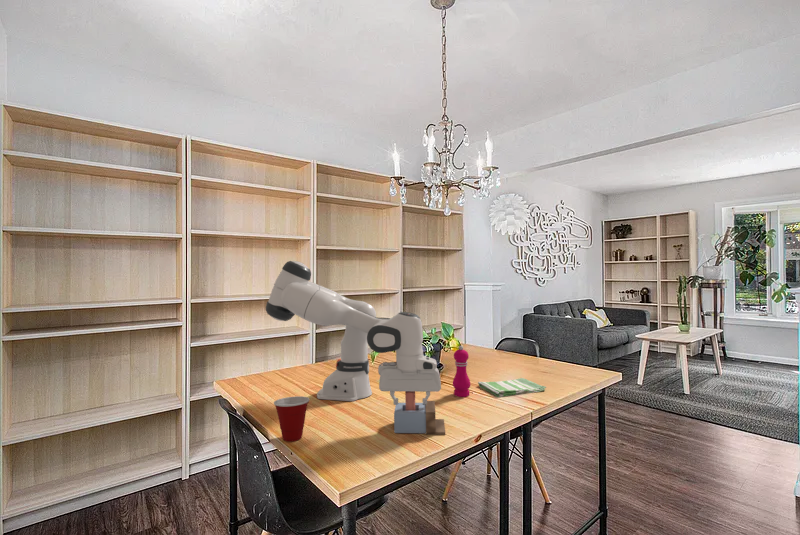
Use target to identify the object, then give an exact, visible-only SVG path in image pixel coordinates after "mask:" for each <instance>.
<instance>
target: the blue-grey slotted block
mask: <svg viewBox="0 0 800 535" xmlns="http://www.w3.org/2000/svg"><path fill="white" fill-rule="evenodd" d="M394 406H395V407H394V412H393V421H394V423H393V427H394V429H393V430H394V431H393V432H394V433H395V434H426V404H425V405H423V402H415V411H406V402H398V405H394Z"/></svg>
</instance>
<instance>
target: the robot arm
mask: <svg viewBox="0 0 800 535" xmlns="http://www.w3.org/2000/svg"><path fill="white" fill-rule="evenodd" d="M281 269H282V270H280V273H279V274H278V276H277V278H276V279H275V282H274V283H273V287H272V290H271V292H270V295H269V297H268V301H266V303H265V311H266V314H267V315H269V316H270V317H271V318H272V319H273V320H277V321H280V322H281V321H282V322H287V321H290V320H291V319H293V317H294V316H298V317H299V318H301V319H303V320H304V321H308V322H310V323H312V324H314V325H318V326H322V327H327V326H338V325H340V326H343V325H344V326H345V331H344V334H343V337H342V339H341V340H340V358H338V359H337V360H336V363H335V368H336V369H335V370H334V371H333V372H331V373H330V374H329V375H328V376H327V377H325V379H324V381H323V383H322V388H321V389H319V391H318V392H317V393H316V398H317V399H318V400H329V401H343V402H345V401H346V402H354V401H356V400H359V399H360V400H361V399H364V398H368V397H370V396H371V395H372V394H373V391H372V388H371V385H370V384H371V383H370V377H369V373H370V362H369V361H370V360H369V358H368V355H369V353H368V347H369V348H370V349H371V350H372V351H373V352H375V353H379V354H383V353H391V352H394V351H395V352H396V355H395V357H396V358H395V359H396V360H395V361H390V362H387V361H384V362H382V363H380V364H379V365H378V366H377V367H378V368H377V370H378V371H377V372H378V375H379V380H378V381H379V383H378V386H379V387H378V388H379V390H380V391H381V392H389V396H390V397H391V399H392V400H393V405H394V406H396V405H398V403H399V397H396V396H395V394H396V393H395V392H406V391H415V392H422V393H423V392H425V397H422V403H423V405H425V404H426V405H427V401H429V398H430V396H431V393H432V392H436V393H439V392H440V391H441V389H442V380H441V376H440V375H441V374H440V371H439V369H438V368H437V365H438V363H437V360H436V359H435V358H432V357H428V356H426V355H424V351H423V341H424V333H423V330H424V329H423V323H422V320H421V317H420V316H419V315H418V314H416V313H414V312H407V311H401V312H398V313H397V314H395V315H394V316H393V317H391V318H389V317H377V312H376V309H375V307H374V306H373V305H371V304H369V303H368V302H367V301H363V300H355V299H352V298H351V299H350V298H348V297H346V296H344V295H341V294H339V293H338V292H337V291H335V290H333V289H330V288H328V287H325V286H323V285H321V284H318V283H315V282H312V281H311V277H312V271H311V268H309V267H308V266H307V265H306V264H304V263H303V262H301V261H297V260H289V261H287V262H286V263H284V264H283V266H282V268H281Z"/></svg>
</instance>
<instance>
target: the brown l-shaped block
mask: <svg viewBox="0 0 800 535" xmlns="http://www.w3.org/2000/svg"><path fill="white" fill-rule="evenodd" d="M425 435H429V436H430V435H437V436H438V435H439V436H442V435H443V436H444V435H446V425H445V419H444V418H439V419H438V418H436V400H427V405H426V433H425Z"/></svg>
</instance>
